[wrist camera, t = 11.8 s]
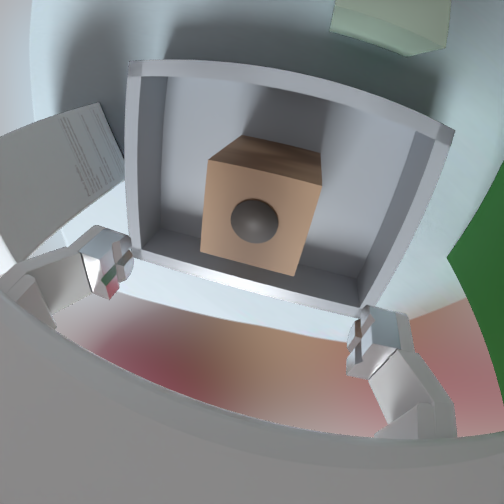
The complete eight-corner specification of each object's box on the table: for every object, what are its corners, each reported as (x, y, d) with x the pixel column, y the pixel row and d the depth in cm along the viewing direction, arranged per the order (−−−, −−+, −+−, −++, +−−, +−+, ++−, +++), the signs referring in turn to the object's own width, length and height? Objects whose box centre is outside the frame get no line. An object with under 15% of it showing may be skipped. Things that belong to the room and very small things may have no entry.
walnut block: (320, 153, 16) (322, 187, 11) (301, 221, 19) (293, 277, 14) (241, 134, 16) (207, 160, 11) (231, 203, 19) (199, 252, 14)
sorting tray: (428, 119, 14) (455, 130, 10) (361, 284, 22) (366, 320, 18) (162, 61, 15) (129, 61, 12) (155, 230, 23) (131, 256, 20)
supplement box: (55, 138, 20) (-51, 197, 10) (101, 99, 17) (-37, 151, 7) (84, 202, 23) (-9, 282, 13) (134, 177, 21) (17, 270, 10)
